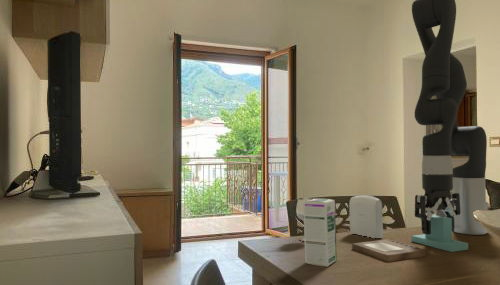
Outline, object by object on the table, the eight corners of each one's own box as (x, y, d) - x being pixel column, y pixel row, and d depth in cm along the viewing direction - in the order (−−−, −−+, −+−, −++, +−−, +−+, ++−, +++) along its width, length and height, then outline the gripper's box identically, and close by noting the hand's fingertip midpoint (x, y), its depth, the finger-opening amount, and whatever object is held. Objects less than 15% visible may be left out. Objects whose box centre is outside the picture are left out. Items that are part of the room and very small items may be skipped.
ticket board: (388, 245, 107) (388, 238, 107) (426, 256, 95) (426, 249, 95) (352, 249, 103) (352, 242, 103) (387, 262, 91) (387, 254, 91)
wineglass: (294, 241, 112) (293, 199, 113) (299, 237, 118) (299, 197, 118) (314, 243, 110) (313, 200, 111) (318, 239, 116) (318, 198, 116)
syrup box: (328, 267, 87) (327, 201, 88) (303, 263, 90) (303, 200, 91) (337, 261, 92) (336, 199, 92) (313, 257, 95) (312, 197, 96)
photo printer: (347, 234, 121) (347, 194, 122) (356, 232, 124) (355, 193, 124) (377, 240, 113) (376, 197, 114) (385, 238, 116) (384, 196, 116)
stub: (427, 239, 113) (426, 212, 113) (468, 249, 101) (467, 219, 101) (411, 241, 111) (411, 214, 111) (451, 251, 99) (450, 221, 99)
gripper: (444, 171, 113) (445, 228, 112) (406, 172, 107) (407, 232, 107) (468, 172, 106) (469, 232, 105) (428, 173, 100) (430, 237, 100)
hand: (438, 232), depth 106 cm, fingers open, 8 cm apart
